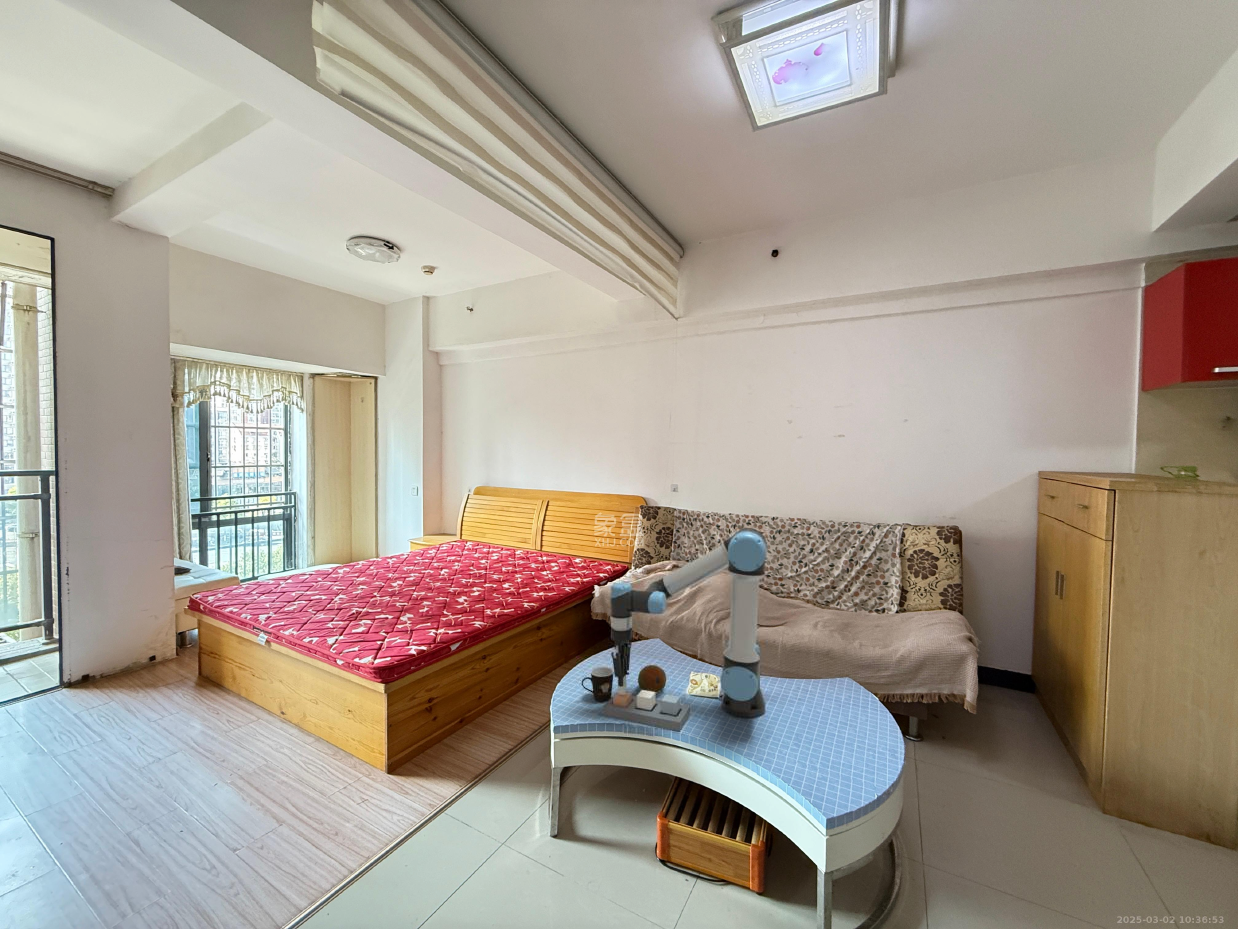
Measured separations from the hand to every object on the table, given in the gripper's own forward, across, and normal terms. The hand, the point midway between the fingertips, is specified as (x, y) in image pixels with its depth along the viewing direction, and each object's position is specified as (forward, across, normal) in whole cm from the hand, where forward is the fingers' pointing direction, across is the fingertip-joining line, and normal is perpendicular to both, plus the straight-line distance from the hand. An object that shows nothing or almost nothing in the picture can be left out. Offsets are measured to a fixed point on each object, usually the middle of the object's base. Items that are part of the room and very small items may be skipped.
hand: (622, 694), depth 178 cm
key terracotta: (+4, 0, 0) cm, 4 cm away
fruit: (+6, -18, +4) cm, 19 cm away
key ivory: (+2, 0, +9) cm, 9 cm away
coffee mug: (+6, -5, -12) cm, 14 cm away
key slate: (+2, 0, +18) cm, 18 cm away
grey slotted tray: (+6, 0, +9) cm, 11 cm away
